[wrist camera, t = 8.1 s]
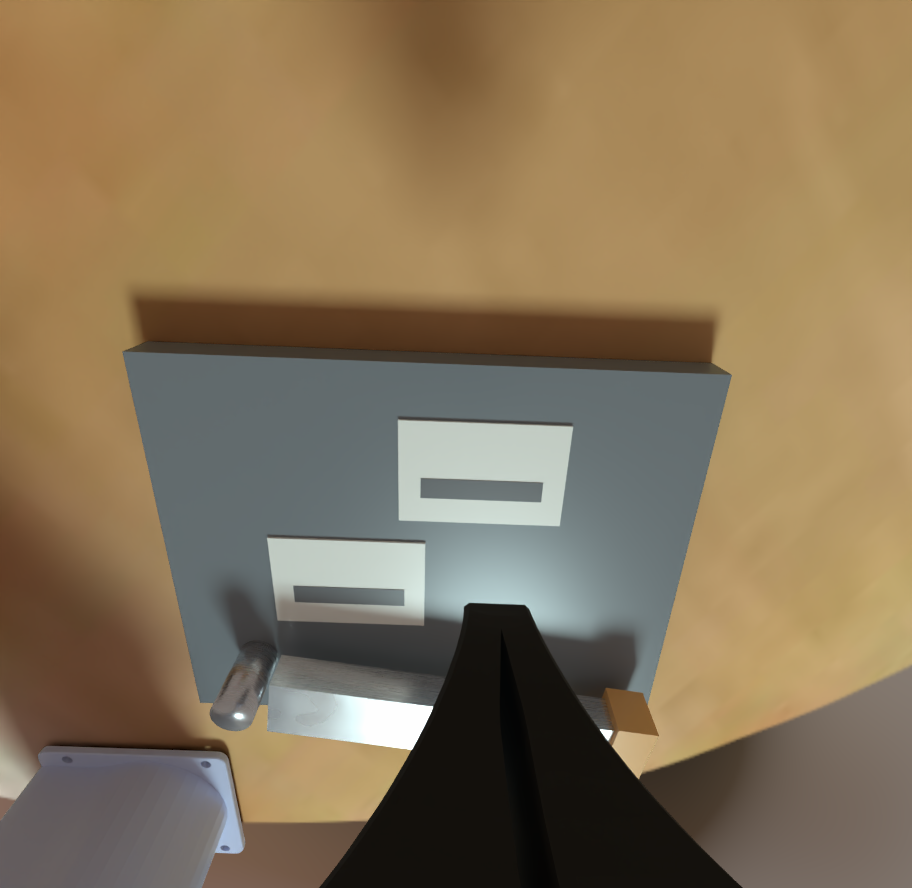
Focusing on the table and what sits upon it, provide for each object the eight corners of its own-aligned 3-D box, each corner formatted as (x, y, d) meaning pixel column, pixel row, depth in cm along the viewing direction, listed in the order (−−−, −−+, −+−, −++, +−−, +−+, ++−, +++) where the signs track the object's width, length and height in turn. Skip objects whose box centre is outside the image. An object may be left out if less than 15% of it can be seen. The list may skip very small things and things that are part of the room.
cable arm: (280, 699, 22) (264, 742, 21) (284, 643, 21) (267, 684, 19) (620, 744, 23) (633, 789, 22) (642, 692, 22) (658, 736, 20)
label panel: (214, 675, 25) (165, 767, 21) (147, 341, 19) (58, 377, 14) (634, 690, 25) (668, 783, 21) (711, 362, 19) (782, 405, 15)
